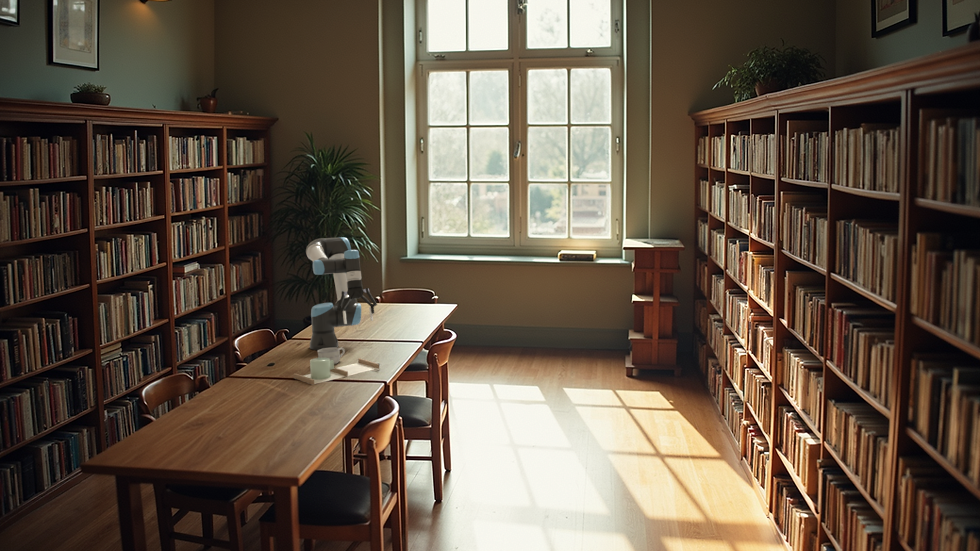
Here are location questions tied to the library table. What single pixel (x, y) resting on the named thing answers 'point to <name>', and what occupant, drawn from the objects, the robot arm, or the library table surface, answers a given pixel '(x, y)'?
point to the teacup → (331, 354)
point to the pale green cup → (321, 368)
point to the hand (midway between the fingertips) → (358, 322)
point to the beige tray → (342, 371)
